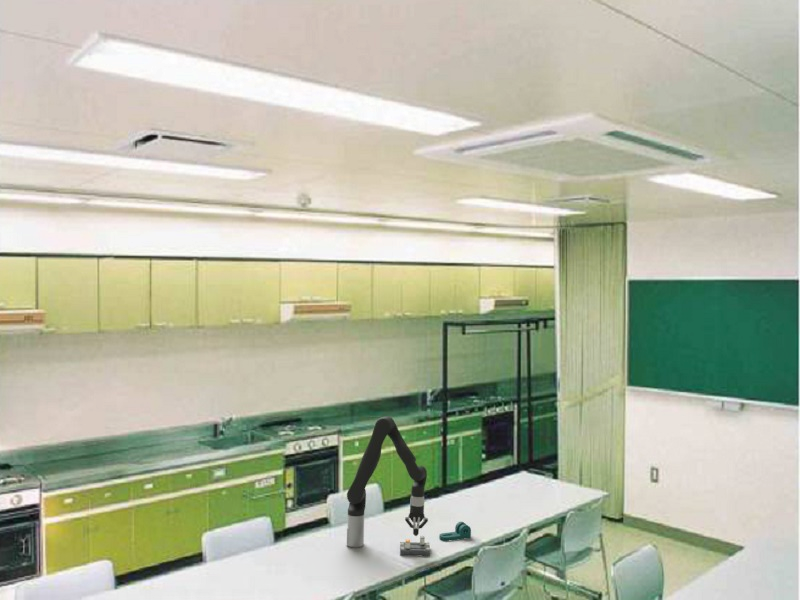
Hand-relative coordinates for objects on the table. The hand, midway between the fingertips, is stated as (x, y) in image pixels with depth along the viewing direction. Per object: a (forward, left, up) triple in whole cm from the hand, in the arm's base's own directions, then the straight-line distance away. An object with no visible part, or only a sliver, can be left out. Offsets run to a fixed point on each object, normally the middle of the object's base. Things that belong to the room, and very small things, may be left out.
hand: (415, 535), depth 373 cm
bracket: (+23, +25, -11) cm, 36 cm away
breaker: (+4, +6, -7) cm, 10 cm away
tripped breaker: (-4, 0, -7) cm, 8 cm away
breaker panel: (0, +3, -10) cm, 11 cm away
